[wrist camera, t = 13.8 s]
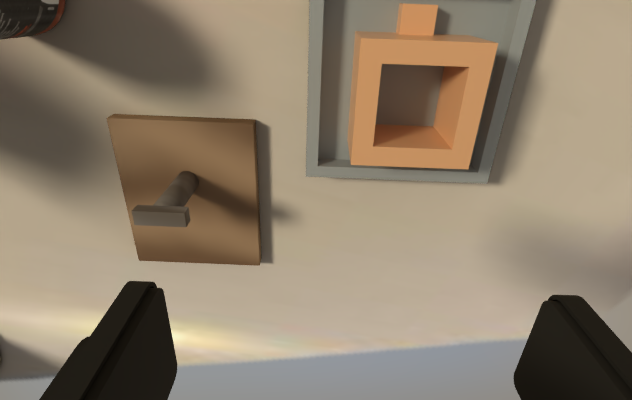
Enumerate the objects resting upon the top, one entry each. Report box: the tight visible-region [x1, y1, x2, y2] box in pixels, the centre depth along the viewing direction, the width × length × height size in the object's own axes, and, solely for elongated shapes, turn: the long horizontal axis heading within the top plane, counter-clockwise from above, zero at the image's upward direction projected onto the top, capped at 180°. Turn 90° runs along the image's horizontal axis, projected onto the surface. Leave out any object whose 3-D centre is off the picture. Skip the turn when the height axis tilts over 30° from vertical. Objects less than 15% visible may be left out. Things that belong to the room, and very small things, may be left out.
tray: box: [306, 0, 536, 184], centre depth 25 cm, size 13×13×2 cm
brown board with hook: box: [107, 114, 261, 265], centre depth 27 cm, size 12×10×6 cm
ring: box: [347, 3, 498, 169], centre depth 23 cm, size 9×7×4 cm
